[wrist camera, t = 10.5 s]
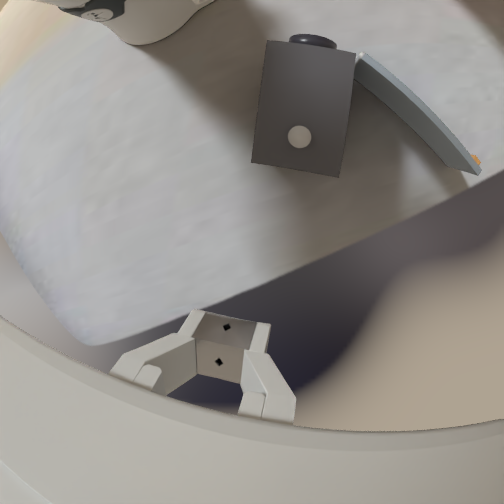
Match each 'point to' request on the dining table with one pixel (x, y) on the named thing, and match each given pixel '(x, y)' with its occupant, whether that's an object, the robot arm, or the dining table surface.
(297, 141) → the camera housing
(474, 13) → the dining table surface
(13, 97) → the dining table surface
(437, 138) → the side door
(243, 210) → the dining table surface
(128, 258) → the dining table surface
